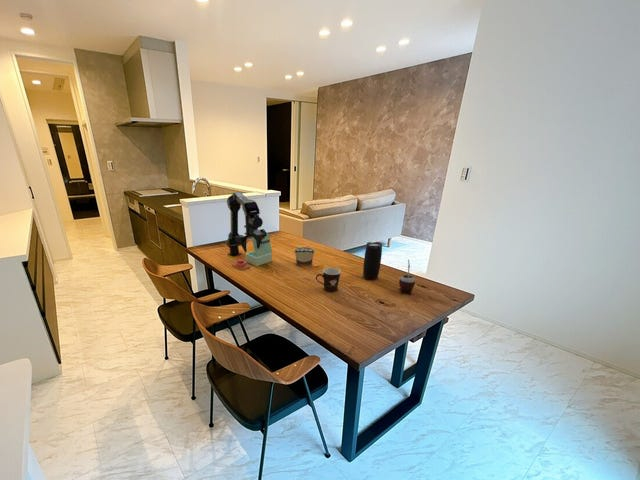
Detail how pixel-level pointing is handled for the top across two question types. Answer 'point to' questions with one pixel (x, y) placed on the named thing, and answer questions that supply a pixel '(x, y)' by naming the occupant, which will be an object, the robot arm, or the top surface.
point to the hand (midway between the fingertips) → (252, 250)
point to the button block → (241, 265)
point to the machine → (258, 258)
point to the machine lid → (262, 247)
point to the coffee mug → (330, 279)
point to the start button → (240, 261)
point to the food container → (304, 256)
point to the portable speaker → (372, 260)
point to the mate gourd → (407, 282)
